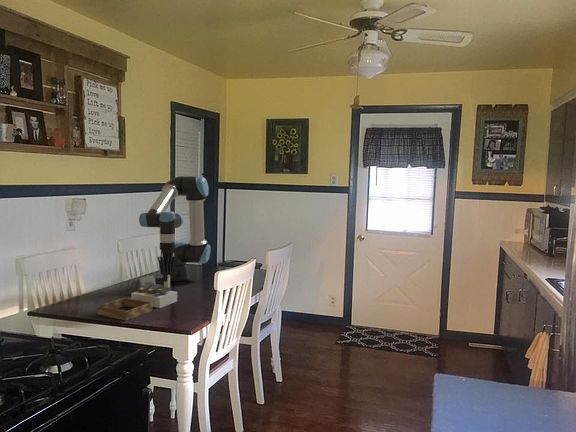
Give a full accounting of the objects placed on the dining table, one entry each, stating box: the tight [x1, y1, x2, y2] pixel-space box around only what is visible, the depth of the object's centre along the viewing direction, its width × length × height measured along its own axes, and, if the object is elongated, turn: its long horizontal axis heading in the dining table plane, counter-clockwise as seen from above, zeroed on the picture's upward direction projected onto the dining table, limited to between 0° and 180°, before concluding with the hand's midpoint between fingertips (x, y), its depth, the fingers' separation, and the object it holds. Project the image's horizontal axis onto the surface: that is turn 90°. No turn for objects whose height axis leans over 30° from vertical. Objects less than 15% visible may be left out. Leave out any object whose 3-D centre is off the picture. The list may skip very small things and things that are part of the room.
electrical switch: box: [137, 275, 157, 289], centre depth 267 cm, size 9×5×9 cm, turn 141°
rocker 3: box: [155, 286, 172, 293], centre depth 245 cm, size 8×4×2 cm, turn 156°
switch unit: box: [130, 290, 178, 309], centre depth 248 cm, size 14×18×6 cm
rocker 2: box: [146, 283, 164, 294], centre depth 248 cm, size 8×4×2 cm, turn 156°
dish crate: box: [96, 297, 154, 321], centre depth 229 cm, size 18×18×4 cm
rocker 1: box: [137, 283, 154, 293], centre depth 250 cm, size 8×4×2 cm, turn 156°
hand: (166, 287), depth 248 cm, fingers closed
